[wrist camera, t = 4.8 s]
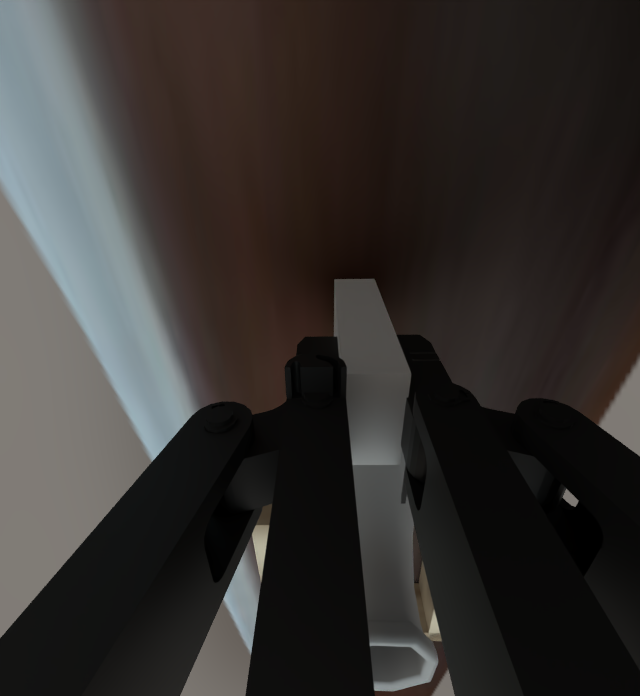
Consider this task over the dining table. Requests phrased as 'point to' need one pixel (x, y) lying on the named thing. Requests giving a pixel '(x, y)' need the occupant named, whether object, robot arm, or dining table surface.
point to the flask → (390, 580)
